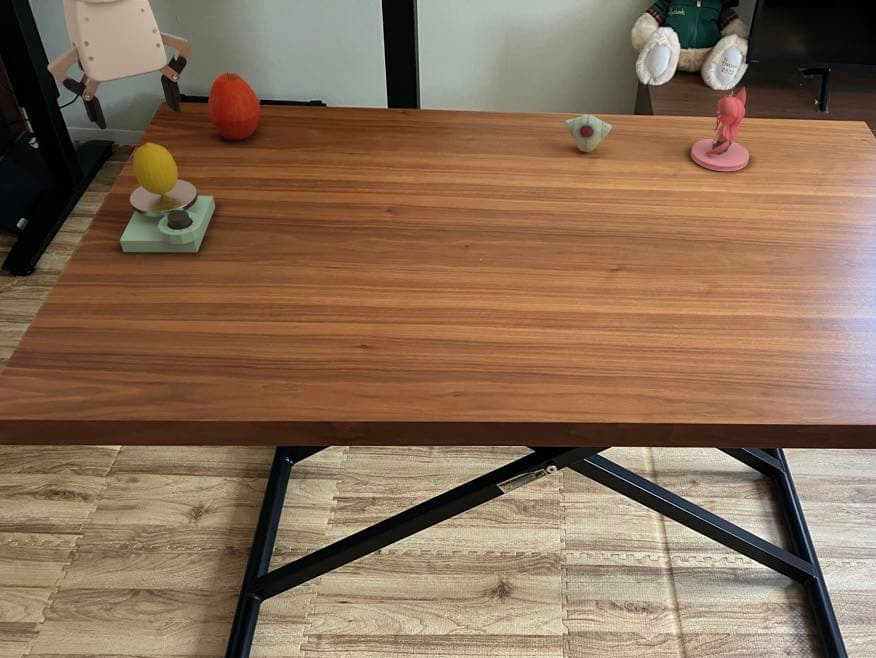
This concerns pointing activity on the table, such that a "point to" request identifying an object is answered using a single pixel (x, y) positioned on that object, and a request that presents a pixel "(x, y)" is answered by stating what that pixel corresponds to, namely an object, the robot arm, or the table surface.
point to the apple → (233, 107)
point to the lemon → (155, 169)
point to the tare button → (179, 220)
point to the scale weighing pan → (164, 200)
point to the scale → (168, 230)
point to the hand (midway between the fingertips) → (138, 116)
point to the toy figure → (724, 138)
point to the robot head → (587, 131)
